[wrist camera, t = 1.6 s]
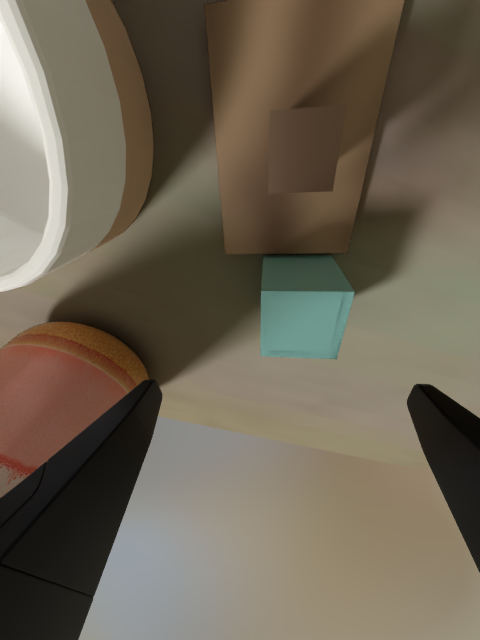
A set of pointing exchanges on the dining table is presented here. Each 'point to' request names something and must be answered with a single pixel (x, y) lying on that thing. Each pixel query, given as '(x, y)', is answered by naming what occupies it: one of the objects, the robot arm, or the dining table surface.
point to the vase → (57, 391)
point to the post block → (296, 116)
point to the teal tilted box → (303, 306)
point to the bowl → (67, 134)
